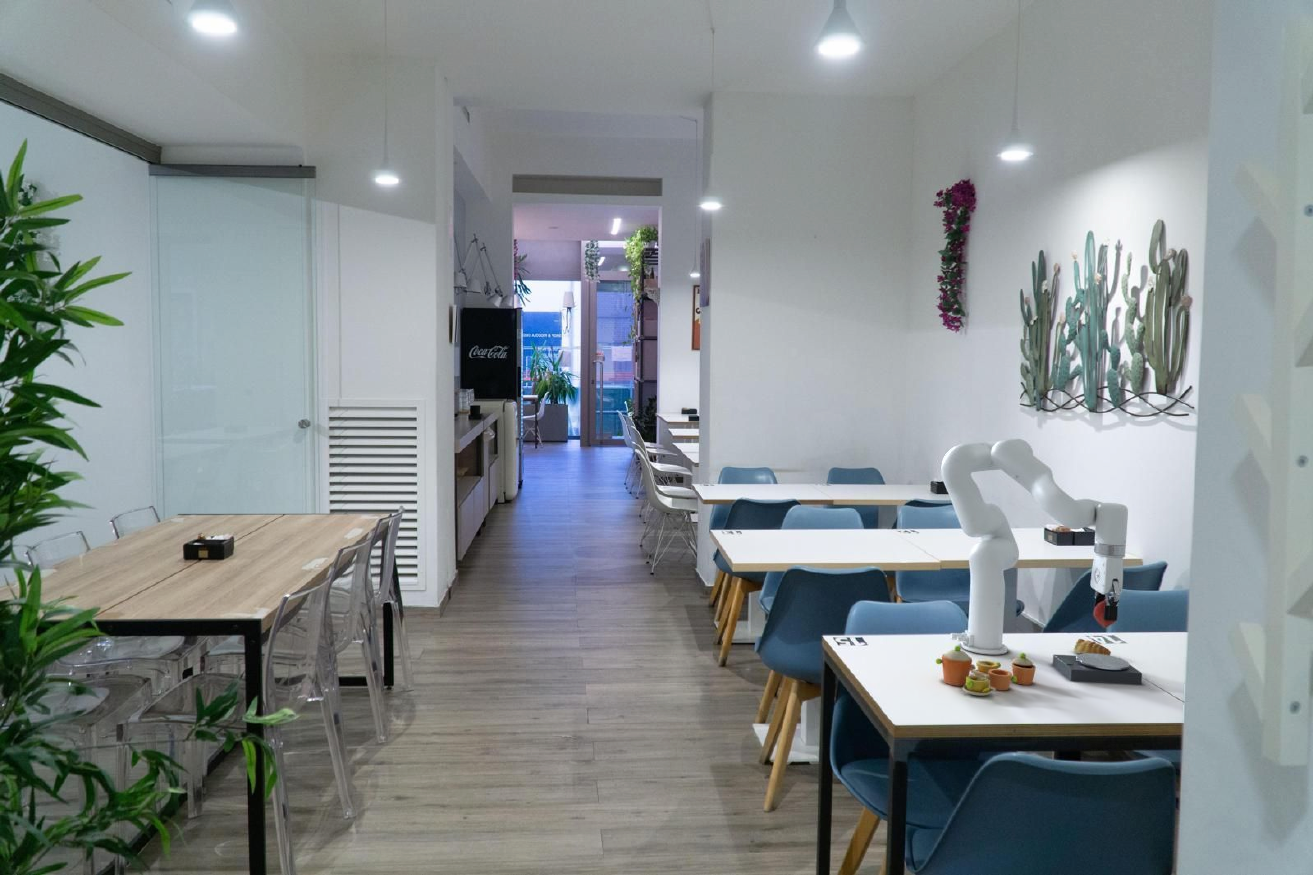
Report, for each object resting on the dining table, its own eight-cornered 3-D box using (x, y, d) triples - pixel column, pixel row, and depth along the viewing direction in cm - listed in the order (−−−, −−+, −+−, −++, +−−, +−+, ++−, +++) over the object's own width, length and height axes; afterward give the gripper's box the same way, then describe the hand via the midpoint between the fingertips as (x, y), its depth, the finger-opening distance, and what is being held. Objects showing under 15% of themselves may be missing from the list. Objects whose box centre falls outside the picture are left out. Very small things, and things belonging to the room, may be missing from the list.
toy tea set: (977, 700, 240) (979, 661, 239) (928, 682, 253) (930, 644, 252) (1045, 685, 254) (1048, 648, 253) (996, 668, 267) (998, 633, 266)
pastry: (1114, 656, 283) (1115, 643, 282) (1104, 661, 278) (1105, 647, 278) (1081, 649, 289) (1081, 636, 289) (1071, 653, 284) (1072, 640, 284)
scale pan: (1086, 668, 258) (1086, 666, 258) (1068, 654, 271) (1068, 652, 271) (1137, 671, 257) (1137, 668, 257) (1117, 656, 270) (1117, 654, 270)
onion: (1088, 624, 266) (1090, 595, 265) (1109, 624, 266) (1111, 595, 266) (1099, 630, 260) (1101, 600, 259) (1121, 630, 260) (1123, 600, 260)
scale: (1070, 680, 258) (1071, 668, 258) (1052, 665, 272) (1053, 653, 272) (1141, 684, 257) (1142, 672, 257) (1119, 668, 271) (1120, 657, 271)
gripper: (1083, 543, 271) (1079, 608, 272) (1107, 555, 253) (1103, 624, 255) (1111, 545, 270) (1107, 610, 271) (1137, 556, 253) (1133, 626, 254)
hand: (1105, 616), depth 263 cm, fingers closed on onion, 6 cm apart
